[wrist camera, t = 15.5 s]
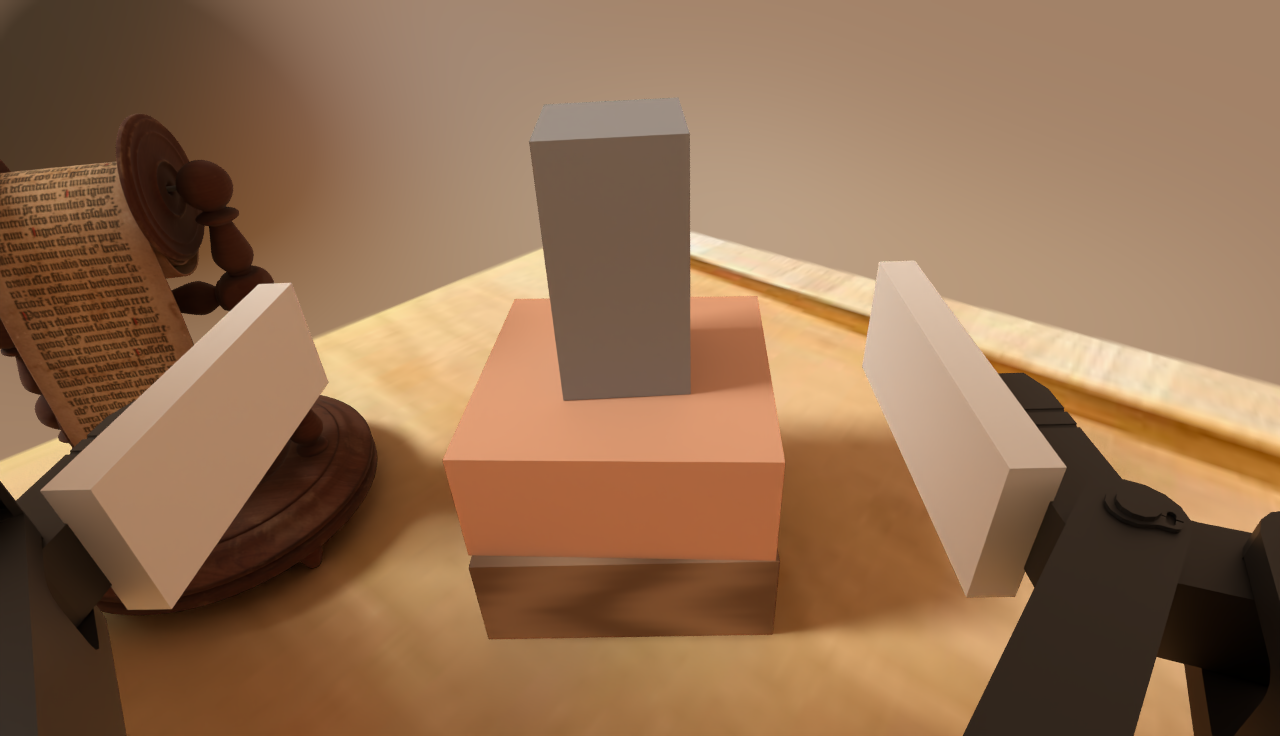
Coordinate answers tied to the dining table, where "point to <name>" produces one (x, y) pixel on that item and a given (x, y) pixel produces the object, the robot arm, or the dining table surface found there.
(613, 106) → the grey block
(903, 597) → the dining table surface
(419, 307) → the dining table surface
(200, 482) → the robot arm
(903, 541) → the dining table surface
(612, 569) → the tower bottom
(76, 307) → the scroll
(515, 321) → the tower top
